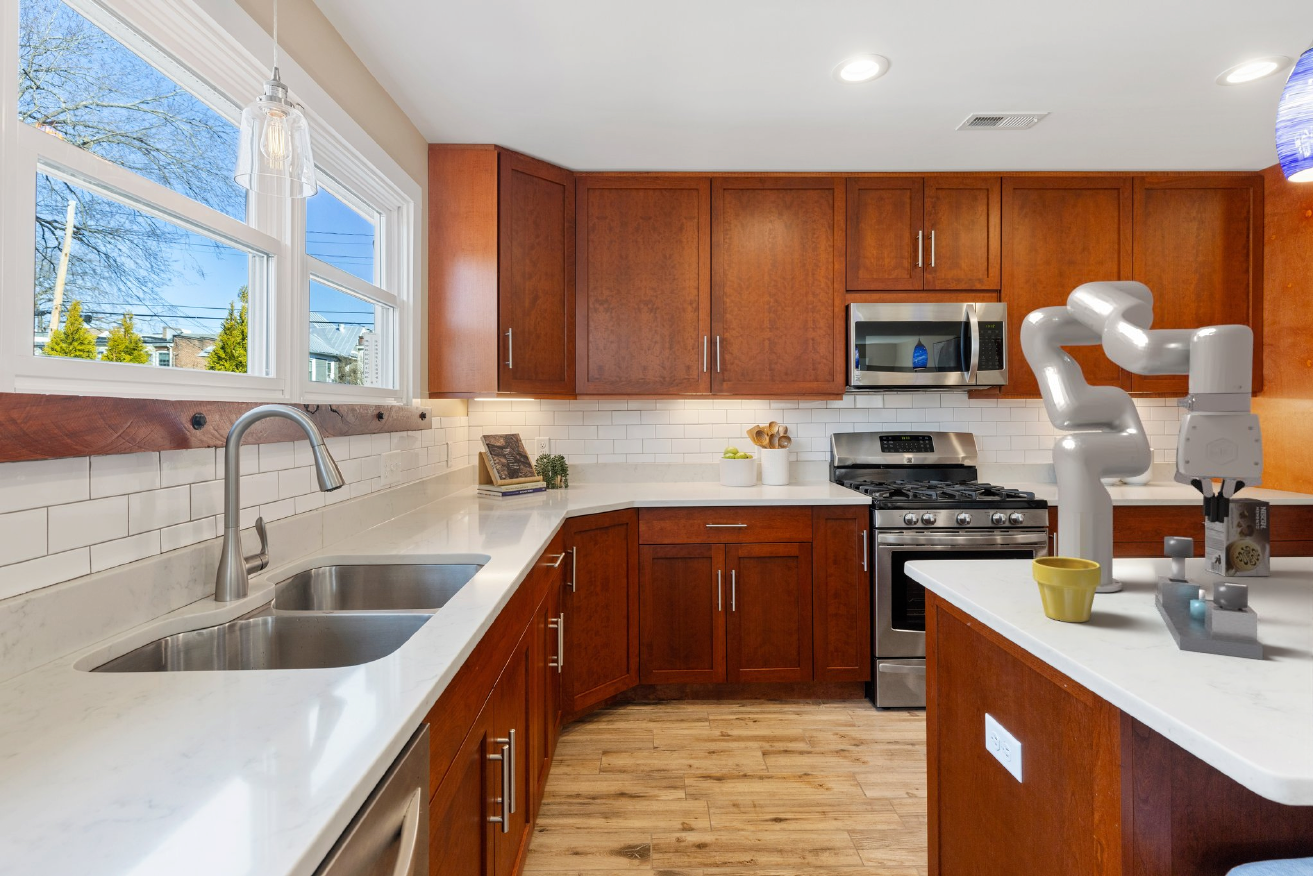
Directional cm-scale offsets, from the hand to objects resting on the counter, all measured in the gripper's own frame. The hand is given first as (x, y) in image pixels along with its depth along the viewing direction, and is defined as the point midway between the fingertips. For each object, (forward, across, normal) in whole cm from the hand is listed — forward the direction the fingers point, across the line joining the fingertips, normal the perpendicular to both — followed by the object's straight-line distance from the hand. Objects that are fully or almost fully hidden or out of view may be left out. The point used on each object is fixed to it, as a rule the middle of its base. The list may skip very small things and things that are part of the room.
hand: (1215, 521), depth 106 cm
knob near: (+16, +1, -4) cm, 17 cm away
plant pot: (+19, -20, +1) cm, 28 cm away
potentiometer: (+17, -1, +4) cm, 17 cm away
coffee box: (+20, +13, +53) cm, 58 cm away
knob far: (+12, -3, +12) cm, 17 cm away
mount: (+19, -1, +4) cm, 19 cm away
